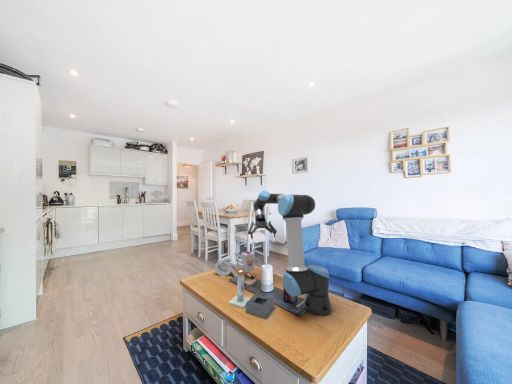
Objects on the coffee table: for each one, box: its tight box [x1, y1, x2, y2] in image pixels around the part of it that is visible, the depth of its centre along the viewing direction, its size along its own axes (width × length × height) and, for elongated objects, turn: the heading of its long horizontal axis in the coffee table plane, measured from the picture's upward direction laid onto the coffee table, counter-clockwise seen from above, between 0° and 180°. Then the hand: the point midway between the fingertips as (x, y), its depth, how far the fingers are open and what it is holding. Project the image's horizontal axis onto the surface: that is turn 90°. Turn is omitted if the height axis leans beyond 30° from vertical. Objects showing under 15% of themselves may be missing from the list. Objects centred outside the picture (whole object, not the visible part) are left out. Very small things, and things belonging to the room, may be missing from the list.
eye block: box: [245, 293, 275, 320], centre depth 116 cm, size 12×12×5 cm
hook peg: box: [235, 267, 247, 302], centre depth 124 cm, size 6×6×18 cm
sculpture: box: [214, 255, 237, 277], centre depth 164 cm, size 18×6×15 cm, turn 85°
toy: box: [236, 250, 255, 274], centre depth 161 cm, size 10×17×20 cm, turn 33°
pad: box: [227, 294, 252, 309], centre depth 124 cm, size 10×10×1 cm
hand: (263, 242), depth 140 cm, fingers open, 13 cm apart
